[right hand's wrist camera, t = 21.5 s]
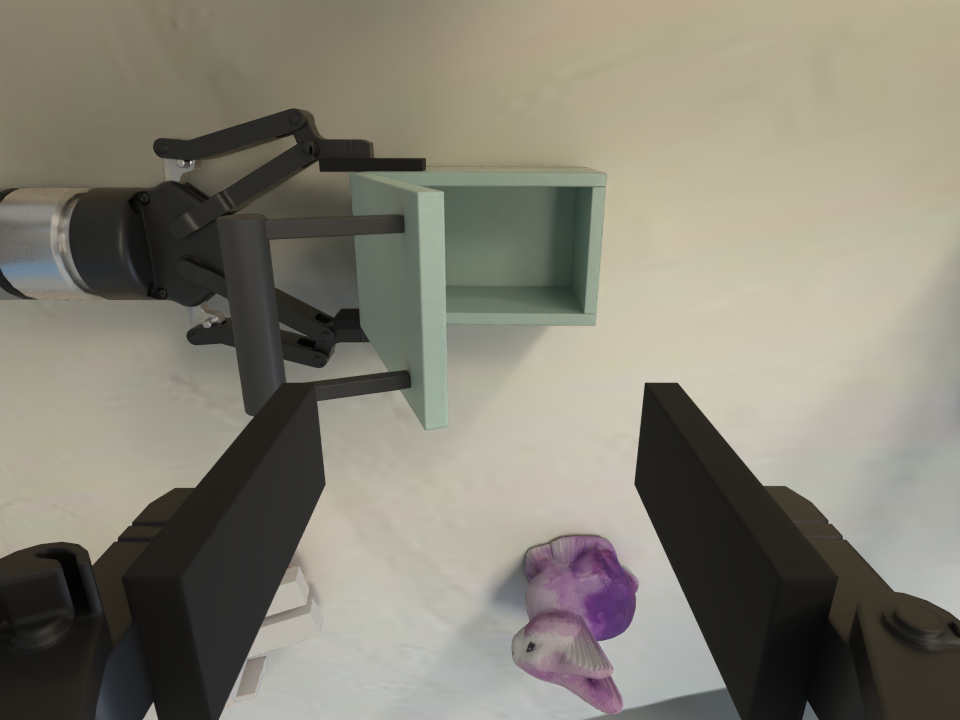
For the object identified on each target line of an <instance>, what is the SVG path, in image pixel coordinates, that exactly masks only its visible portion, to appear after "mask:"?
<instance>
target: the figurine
mask: <svg viewBox="0 0 960 720" xmlns="http://www.w3.org/2000/svg"><path fill="white" fill-rule="evenodd" d="M525 563H526V564H525V573H526V576H527V580H528V581H529V582H530V584H529V585H528V588H527V591H526V609H527V613H528V616H529V620H530V622H529V623H528V624H527V625H526V626H525V627H524V628H522V629H521V630H520V631H519V632H518V633H517V634H516V635H515V636H514V637H513V640H512V657H513V661H514V662H515V664H516V665H517V666H518V667H520V668H521V669H523V670H524V671H526V672H527V673H528V674H530V675H532V676H534V677H536V678H538V679H540V680H543V681H546V682H550V683H554V684H557V685H560V686H563V687H565V688H566V689H568V690H570V691H571V692H573V693H574V694H576V695H578V696H579V697H580V698H581V699H583V700H584V701H585V702H587V703H589V704H590V705H592V706H593V707H595V708H596V709H598V710H600V711H602V712H605V713H608V714H613V715H614V714H618V713H620V712H621V710H622V708H623V701H622V697H621V695H620V693H619V691H618V689H617V687H616V685H615V683H614V681H613V679H612V677H611V674H612V672H613V667H612V665H611V664H610V662H609V660H608V659H607V657H606V655H605V654H604V652H603V650H602V649H601V647H600V645H599V644H598V642H597V641H603V640H607V639H611V638H614V637H616V636H618V635H620V634H622V633H623V632H624V631H625V630H626V629H627V628H628V627H629V625H630V623H631V621H632V619H633V616H634V612H635V608H636V597H635V593H636V592H637V591H638V589H639V581H638V579H637V578H636V576H634V575H633V574H631V573H630V572H628V571H626V570H625V569H624V568H622V567H621V566H620V564H619V562H618V559H617V555H616V552H615V549H614V548H613V546H612V544H611V543H610V542H608V541H607V540H605V539H603V538H601V537H598V536H569V537H561V538H559V539H557V540H554V541H553V542H551V543H549V544H546V545H543V546H537V547H534V548H532V549H530V550H529V551H528V553H527V554H526V562H525Z"/></svg>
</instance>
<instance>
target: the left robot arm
mask: <svg viewBox="0 0 960 720" xmlns="http://www.w3.org/2000/svg"><path fill="white" fill-rule="evenodd" d="M314 122H315V121H314V117H313V115H312V114H311V113H310V112H308V111H305V110H299V109H289V110H286V111H283V112H279V113H276V114H273V115H270V116H266V117H263V118H260V119H257V120H253V121H250V122H247V123H244V124H240V125H237V126H234V127H231V128H228V129H224V130H221V131H218V132H215V133H211V134H208V135H205V136H202V137H198V138H195V139H192V140H191V139H175V138H160V139H157V140H155V142H154V144H153V149H154V152H155V153H156V155H157V156H159V157H161V158H163V167H164V177H165V182H163V183H161V184H159V185H158V186H156V187H154V188H94V189H91V190H88V189H85V188H14V189H0V300H8V299H46V300H99V299H103V298H105V299H108V300H171V301H174V302H177V303H179V304H181V305H183V306H186V307H187V310H188V314H189V318H190V322H191V326H192V329H190V330H189V331H188V332H187V339H188V341H189V342H190V343H191V344H193V345H206V344H219V343H221V344H225V345H229V346H233V347H236V346H235V340H234V333H233V326H232V319H231V318H225V317H224V314H223V313H222V312H219V311H216V310H212V309H210V308H209V307H208V306H207V304H206V301H207V300H209V299H210V298H211V297H212V296H214V295H215V294H216V293H217V294H219V295H221V296H223V297H225V298H227V299H228V292H227V286H226V279H225V272H224V266H223V259H222V252H221V245H220V239H219V232H218V225H217V218H218V217H221V216H227V215H233V214H235V213H236V212H238V211H240V210H241V209H243V208H244V207H246V206H247V205H248V204H249V203H251V202H253V201H254V200H256V199H257V198H259V197H261V196H262V195H264V194H265V193H267V192H269V191H270V190H272V189H273V188H275V187H277V186H278V185H280V184H281V183H283V182H285V181H286V180H288V179H289V178H291V177H293V176H294V175H296V174H297V173H299V172H301V171H302V170H304V169H306V168H307V167H309V166H310V165H312V164H314V163H315V162H317V161H318V160H319V166H320V172H364V171H424V170H426V158H374V150H373V143H372V142H369V141H367V140H328V139H325V138H323V137H322V136H321V135H320V134H319V133H318V131H317V128H316V126H315V124H314ZM290 135H294V137H295V139H296V141H297V145H295V146H293V147H292V148H290V149H289V150H287V151H286V152H284V153H282V154H281V155H279V156H278V157H276V158H275V159H273V160H271V161H270V162H268V163H267V164H265V165H263V166H262V167H260V168H259V169H257V170H256V171H254V172H252V173H251V174H249V175H248V176H246V177H244V178H243V179H241V180H240V181H238V182H237V183H235V184H233V185H232V186H230V187H229V188H227V189H225V190H224V191H222V192H219V193H217V194H215V195H214V196H212V197H211V198H210V197H209V196H207V195H206V194H204V193H203V192H201V191H200V190H198V189H197V188H195V187H194V186H192V185H191V184H189V183H188V182H186V180H187V176H188V175H189V174H190V173H191V172H196V171H198V170H199V169H200V167H201V160H202V159H214V158H218V157H222V156H225V155H228V154H231V153H235V152H238V151H241V150H245V149H248V148H251V147H254V146H258V145H261V144H264V143H267V142H271V141H274V140H277V139H281V138H284V137H287V136H290ZM275 294H276V303H277V311H278V319H279V322H281V323H283V324H285V325H287V326H289V327H291V328H293V329H295V330H297V331H299V332H301V333H303V334H305V335H307V336H309V337H307V336H303V335H299V334H295V333H292V332H288V331H284V330H280V336H281V344H282V353H283V359H284V360H288V361H292V362H296V363H300V364H304V365H308V366H312V367H316V368H322V367H324V366H325V365H326V364H327V362H328V361H329V359H330V358H331V356H332V355H333V353H334V348H335V345H336V343H339V342H370V341H369V339H368V337H367V336H366V334H365V333H364V331H363V329H362V328H361V326H360V313H359V309H341V310H340V311H339V312H338V313H337V315H336V316H335V317H334V318H333V317H331V316H329V315H327V314H325V313H323V312H321V311H320V310H318V309H316V308H314V307H312V306H310V305H308V304H306V303H304V302H302V301H300V300H298V299H296V298H294V297H292V296H290V295H289V294H287V293H285V292H283V291H281V290H279V289H277V288H275Z"/></svg>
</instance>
